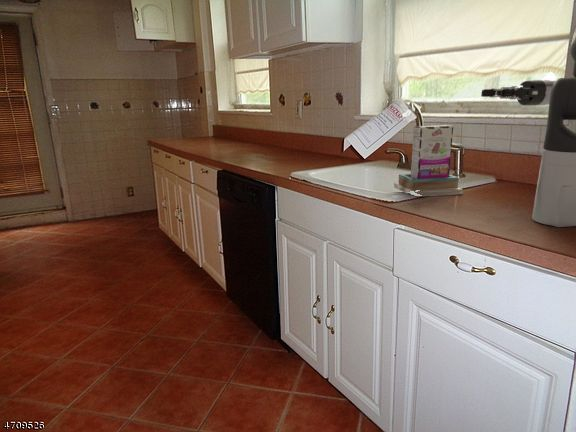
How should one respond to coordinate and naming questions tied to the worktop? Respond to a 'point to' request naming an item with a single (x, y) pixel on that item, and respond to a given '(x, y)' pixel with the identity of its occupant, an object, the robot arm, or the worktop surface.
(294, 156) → the worktop surface
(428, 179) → the foundation
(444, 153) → the candy bar box
